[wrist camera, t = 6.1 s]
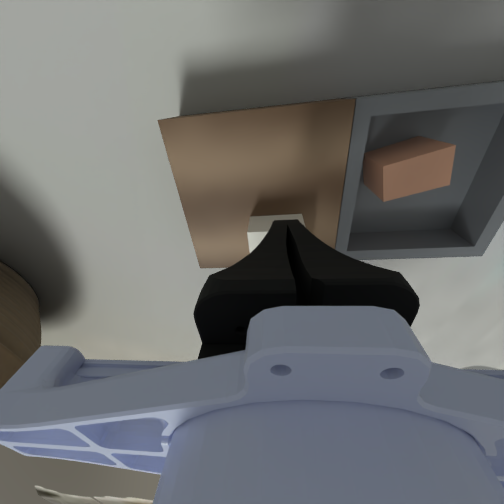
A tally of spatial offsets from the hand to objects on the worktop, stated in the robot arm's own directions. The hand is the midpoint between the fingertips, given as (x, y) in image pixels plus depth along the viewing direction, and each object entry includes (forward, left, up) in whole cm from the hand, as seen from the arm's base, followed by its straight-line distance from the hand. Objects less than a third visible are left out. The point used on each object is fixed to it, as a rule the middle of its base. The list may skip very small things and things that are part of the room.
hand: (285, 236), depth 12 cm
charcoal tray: (0, -11, -9) cm, 14 cm away
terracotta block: (+3, -8, -7) cm, 11 cm away
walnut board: (0, +2, -9) cm, 9 cm away
